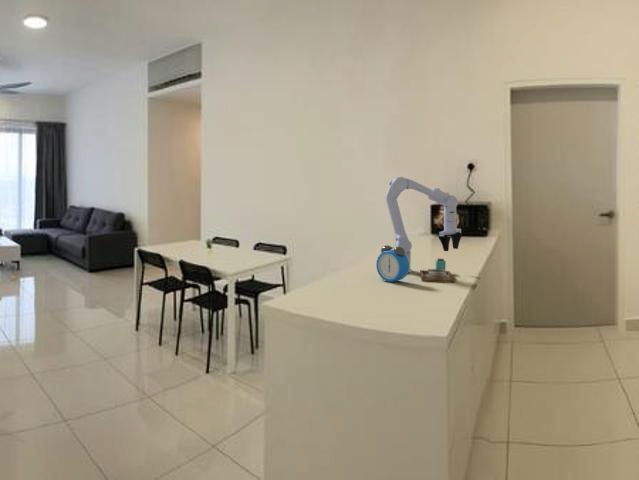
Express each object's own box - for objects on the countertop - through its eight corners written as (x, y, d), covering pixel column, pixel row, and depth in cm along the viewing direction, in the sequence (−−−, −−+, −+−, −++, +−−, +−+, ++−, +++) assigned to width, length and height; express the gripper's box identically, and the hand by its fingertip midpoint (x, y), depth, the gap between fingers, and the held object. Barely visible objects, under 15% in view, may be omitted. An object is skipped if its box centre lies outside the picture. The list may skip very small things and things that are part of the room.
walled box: (422, 281, 192) (422, 272, 191) (419, 275, 204) (420, 266, 204) (453, 282, 190) (454, 273, 189) (449, 276, 203) (449, 267, 202)
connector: (436, 274, 207) (436, 259, 206) (435, 272, 211) (435, 258, 210) (445, 274, 206) (445, 259, 205) (444, 272, 210) (444, 258, 209)
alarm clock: (375, 279, 195) (376, 245, 193) (384, 277, 199) (385, 243, 197) (400, 284, 185) (401, 248, 183) (409, 282, 190) (410, 247, 188)
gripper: (448, 222, 203) (449, 252, 205) (466, 219, 213) (467, 248, 214) (435, 222, 209) (436, 251, 211) (453, 219, 218) (454, 247, 220)
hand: (450, 249), depth 213 cm, fingers open, 7 cm apart
